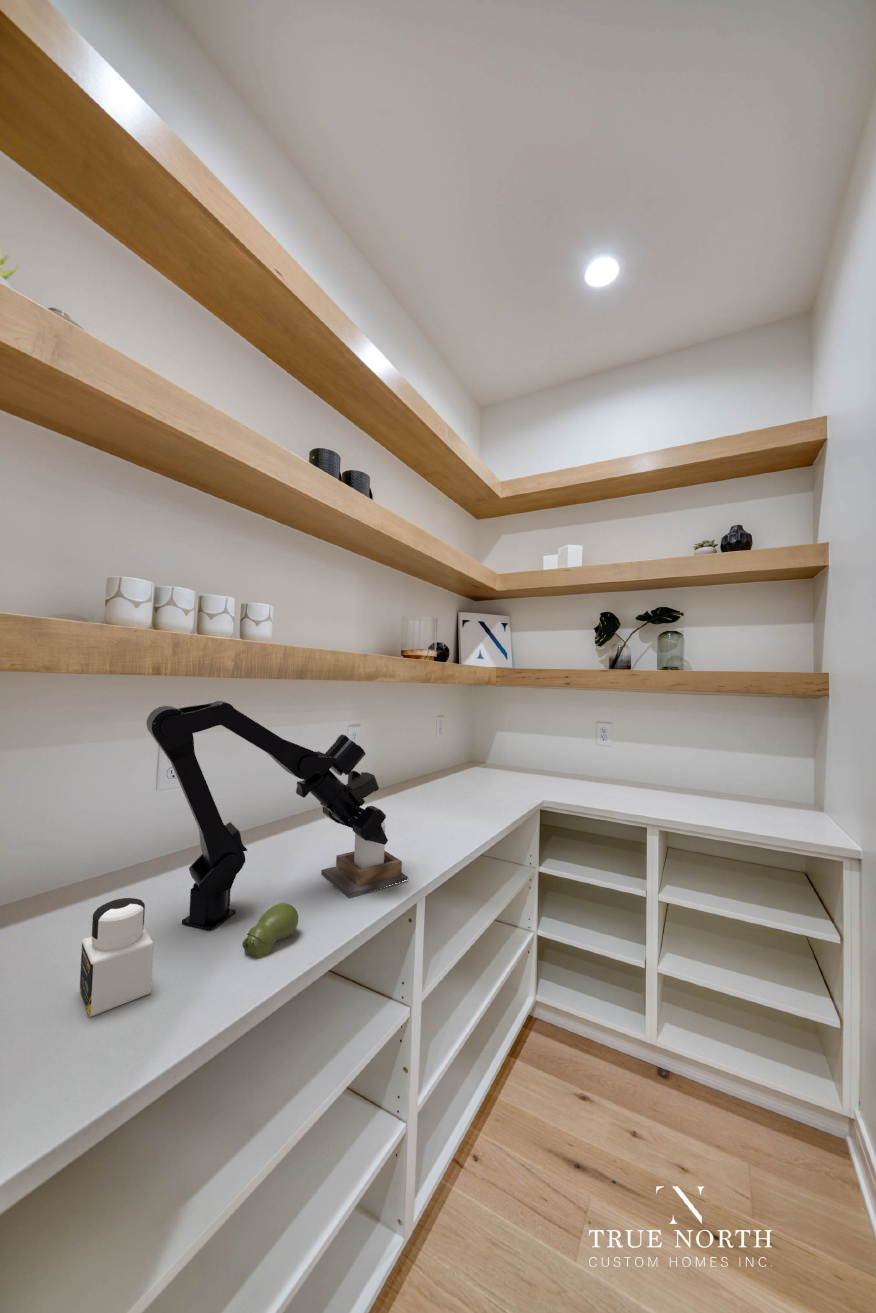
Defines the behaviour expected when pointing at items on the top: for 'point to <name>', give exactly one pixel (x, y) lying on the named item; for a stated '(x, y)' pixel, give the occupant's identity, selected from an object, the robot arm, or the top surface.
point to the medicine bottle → (116, 957)
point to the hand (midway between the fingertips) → (375, 836)
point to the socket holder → (363, 874)
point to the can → (368, 852)
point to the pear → (271, 929)
